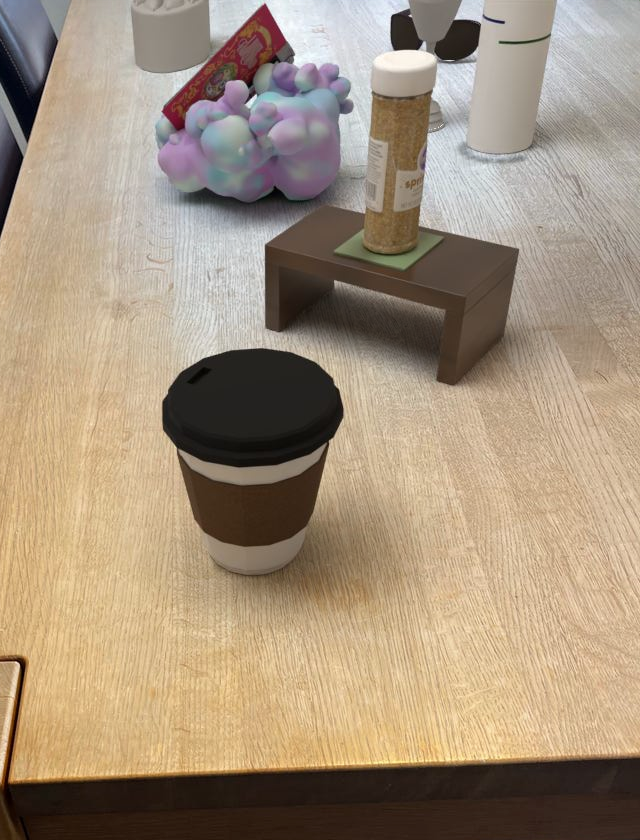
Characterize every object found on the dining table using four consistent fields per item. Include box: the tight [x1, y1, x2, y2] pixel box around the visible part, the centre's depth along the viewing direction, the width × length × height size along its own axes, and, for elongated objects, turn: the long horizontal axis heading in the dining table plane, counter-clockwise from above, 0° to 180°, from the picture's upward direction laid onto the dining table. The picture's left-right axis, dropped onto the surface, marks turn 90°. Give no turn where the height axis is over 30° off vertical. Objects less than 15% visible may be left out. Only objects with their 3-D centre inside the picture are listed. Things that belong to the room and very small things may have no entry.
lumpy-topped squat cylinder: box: [130, 0, 212, 74], centre depth 140 cm, size 10×13×9 cm
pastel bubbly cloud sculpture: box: [154, 2, 355, 204], centre depth 104 cm, size 20×22×18 cm
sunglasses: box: [389, 7, 481, 62], centre depth 136 cm, size 14×16×5 cm
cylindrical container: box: [465, 0, 558, 155], centre depth 104 cm, size 7×7×25 cm
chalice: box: [407, 0, 463, 133], centre depth 111 cm, size 7×7×18 cm
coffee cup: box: [161, 347, 345, 576], centre depth 63 cm, size 11×11×12 cm
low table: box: [264, 203, 520, 386], centre depth 83 cm, size 18×9×8 cm, turn 51°
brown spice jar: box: [362, 50, 438, 254], centre depth 76 cm, size 5×5×14 cm
